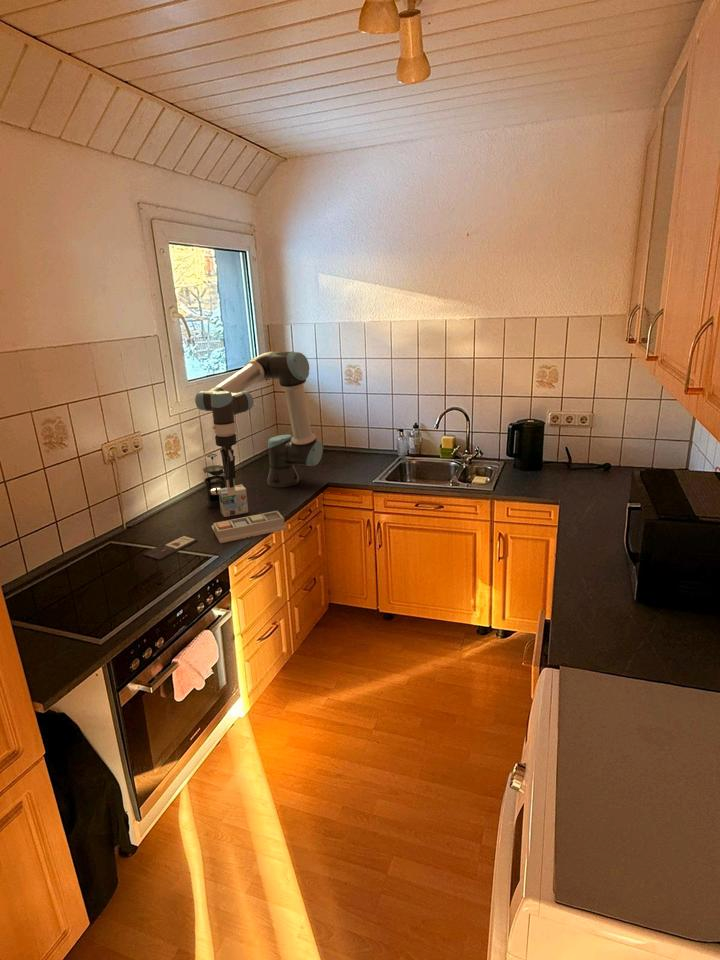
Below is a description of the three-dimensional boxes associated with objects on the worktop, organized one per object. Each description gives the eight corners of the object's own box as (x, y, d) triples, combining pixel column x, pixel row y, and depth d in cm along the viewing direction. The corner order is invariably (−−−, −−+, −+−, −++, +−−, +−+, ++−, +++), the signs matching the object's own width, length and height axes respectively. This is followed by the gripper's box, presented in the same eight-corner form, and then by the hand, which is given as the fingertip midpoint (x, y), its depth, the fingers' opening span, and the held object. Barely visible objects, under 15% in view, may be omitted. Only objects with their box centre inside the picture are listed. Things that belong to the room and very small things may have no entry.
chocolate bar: (142, 553, 203) (181, 535, 217) (142, 556, 203) (181, 537, 217) (159, 559, 198) (197, 540, 212) (159, 561, 198) (197, 542, 213)
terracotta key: (228, 524, 219) (228, 521, 218) (231, 528, 215) (230, 525, 214) (217, 527, 217) (216, 523, 217) (219, 531, 213) (219, 527, 213)
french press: (215, 510, 241) (209, 459, 234) (201, 506, 247) (194, 456, 239) (236, 501, 250) (230, 452, 243) (222, 498, 256) (216, 449, 248)
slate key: (245, 524, 222) (245, 520, 221) (248, 528, 218) (247, 524, 217) (234, 526, 220) (233, 522, 220) (236, 530, 216) (236, 527, 216)
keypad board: (274, 515, 234) (273, 506, 233) (286, 529, 220) (285, 519, 219) (211, 527, 224) (210, 518, 223) (220, 543, 210) (219, 533, 209)
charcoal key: (277, 518, 227) (276, 514, 226) (280, 521, 223) (280, 518, 223) (266, 520, 225) (265, 516, 225) (269, 524, 221) (269, 520, 221)
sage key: (261, 518, 224) (260, 514, 223) (264, 522, 220) (263, 518, 220) (250, 520, 222) (249, 516, 222) (253, 524, 218) (252, 520, 218)
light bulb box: (224, 517, 234) (221, 493, 230) (220, 512, 240) (217, 488, 236) (249, 512, 238) (246, 488, 235) (244, 507, 244) (242, 484, 241)
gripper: (211, 431, 209) (218, 491, 217) (219, 439, 198) (226, 501, 206) (231, 429, 213) (237, 487, 220) (240, 436, 201) (246, 497, 209)
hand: (231, 494), depth 213 cm, fingers closed
